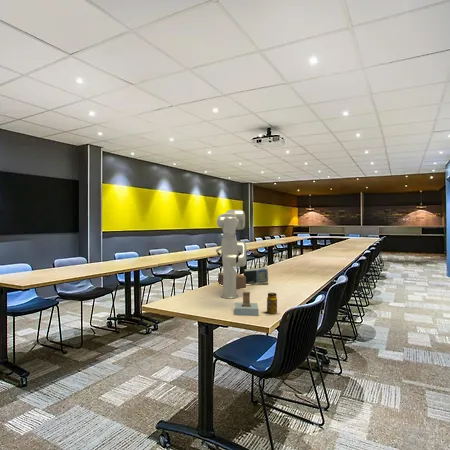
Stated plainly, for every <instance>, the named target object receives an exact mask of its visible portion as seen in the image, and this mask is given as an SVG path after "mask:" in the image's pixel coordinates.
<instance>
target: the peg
mask: <svg viewBox="0 0 450 450" xmlns="http://www.w3.org/2000/svg"><path fill="white" fill-rule="evenodd" d="M242 292H243V293H242V303H243V307H250V303H251V301H250V300H251V299H250V298H251V297H250V296H251V292H250V291H242Z"/></svg>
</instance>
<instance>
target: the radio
mask: <svg viewBox="0 0 450 450" xmlns="http://www.w3.org/2000/svg"><path fill="white" fill-rule="evenodd" d="M242 276H245V277H246V284H263V285H269V271H268V268H267V267H266V266H264V267H257V268H245V269H243V275H242Z"/></svg>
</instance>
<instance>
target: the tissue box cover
mask: <svg viewBox="0 0 450 450" xmlns="http://www.w3.org/2000/svg"><path fill="white" fill-rule="evenodd" d="M217 274H218V275H217V277H218V278H217V279H218V280H217V284H218V283H219V284H221V285H223V272H218V273H217ZM219 284H218V285H219ZM221 285H220V286H221ZM246 286H247V285H246V277H245V276H243V275H242V274H239V273H237V272H236V290H241V289H240V288H247V287H246Z"/></svg>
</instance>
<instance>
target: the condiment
mask: <svg viewBox="0 0 450 450" xmlns="http://www.w3.org/2000/svg"><path fill="white" fill-rule="evenodd" d="M261 313H263V314H264V315H266V316H272V315H275V316H276V315H280V313H279V312H278V297H277V292H268V293H267V297H266V310H265V311H261Z"/></svg>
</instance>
